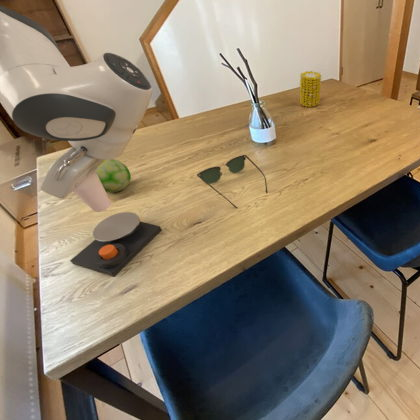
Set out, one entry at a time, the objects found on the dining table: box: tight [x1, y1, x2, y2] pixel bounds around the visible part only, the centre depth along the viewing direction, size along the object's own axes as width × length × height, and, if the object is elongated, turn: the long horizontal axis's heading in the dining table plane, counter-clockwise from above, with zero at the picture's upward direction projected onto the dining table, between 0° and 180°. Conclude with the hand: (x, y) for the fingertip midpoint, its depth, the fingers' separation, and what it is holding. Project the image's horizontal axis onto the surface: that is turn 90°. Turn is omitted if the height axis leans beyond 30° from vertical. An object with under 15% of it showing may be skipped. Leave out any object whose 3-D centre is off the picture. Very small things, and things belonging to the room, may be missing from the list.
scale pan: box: [92, 211, 141, 243], centre depth 68 cm, size 10×10×1 cm
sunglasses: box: [196, 154, 268, 209], centre depth 83 cm, size 16×17×5 cm
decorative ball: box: [96, 158, 132, 193], centre depth 81 cm, size 10×10×10 cm
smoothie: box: [62, 152, 113, 213], centre depth 58 cm, size 6×6×14 cm
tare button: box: [99, 245, 118, 260], centre depth 62 cm, size 3×3×2 cm
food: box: [299, 70, 322, 108], centre depth 127 cm, size 15×12×10 cm
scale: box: [69, 220, 163, 278], centre depth 66 cm, size 15×12×3 cm
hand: (78, 178), depth 58 cm, fingers closed on smoothie, 6 cm apart
